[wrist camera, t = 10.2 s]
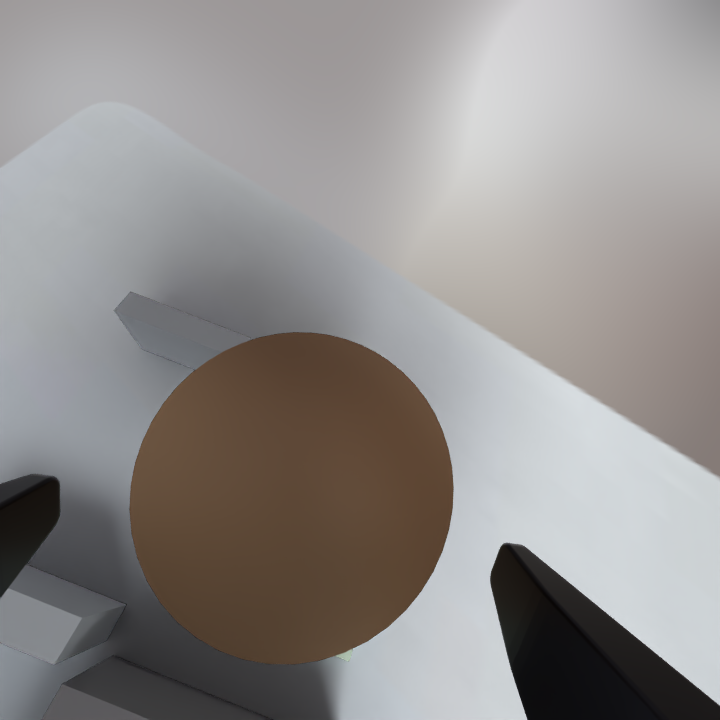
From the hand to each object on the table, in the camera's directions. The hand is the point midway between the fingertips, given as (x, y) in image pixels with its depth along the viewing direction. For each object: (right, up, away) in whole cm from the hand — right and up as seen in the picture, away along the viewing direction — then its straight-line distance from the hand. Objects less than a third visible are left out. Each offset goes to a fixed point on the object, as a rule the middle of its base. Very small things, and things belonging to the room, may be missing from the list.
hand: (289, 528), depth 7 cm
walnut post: (-2, -4, +9) cm, 10 cm away
